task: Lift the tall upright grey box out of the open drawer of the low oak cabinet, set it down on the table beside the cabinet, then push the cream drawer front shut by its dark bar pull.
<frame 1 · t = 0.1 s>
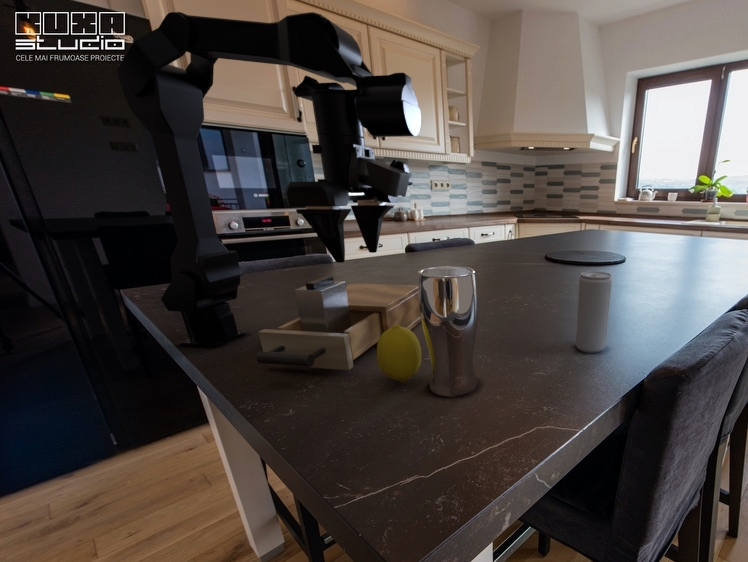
hand: (357, 257, 58), 15 cm above the table, tool pointing down, fingers open, 9 cm apart
tall upright grey box: (331, 343, 60), point 2 cm above the table, touching drawer
beer glass: (453, 387, 51), on the table
lemon: (402, 383, 52), on the table
cabinet: (372, 329, 72), on the table
beverage can: (590, 349, 64), on the table
drawer: (323, 339, 58), point 3 cm above the table, slide at 10.0 cm, touching tall upright grey box
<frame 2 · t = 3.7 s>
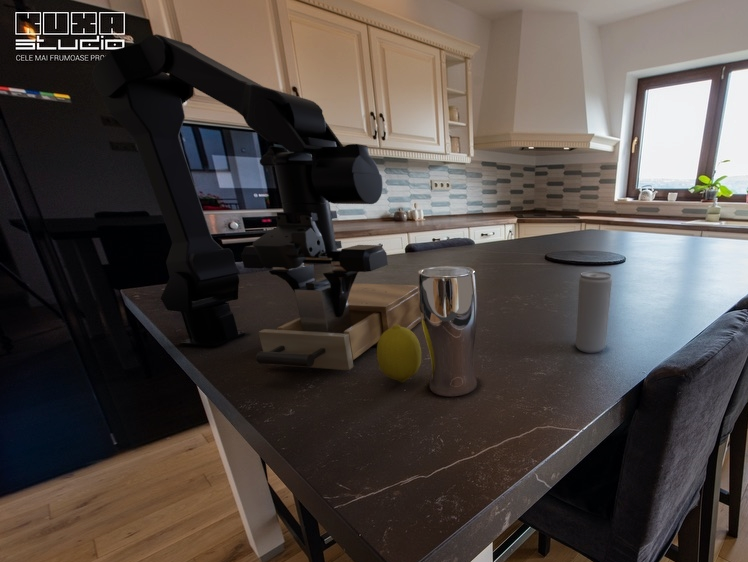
hand: (325, 315, 58), 7 cm above the table, tool pointing down, fingers closed on tall upright grey box, 4 cm apart
tall upright grey box: (331, 343, 60), point 2 cm above the table, touching drawer, gripper
everything else where it was.
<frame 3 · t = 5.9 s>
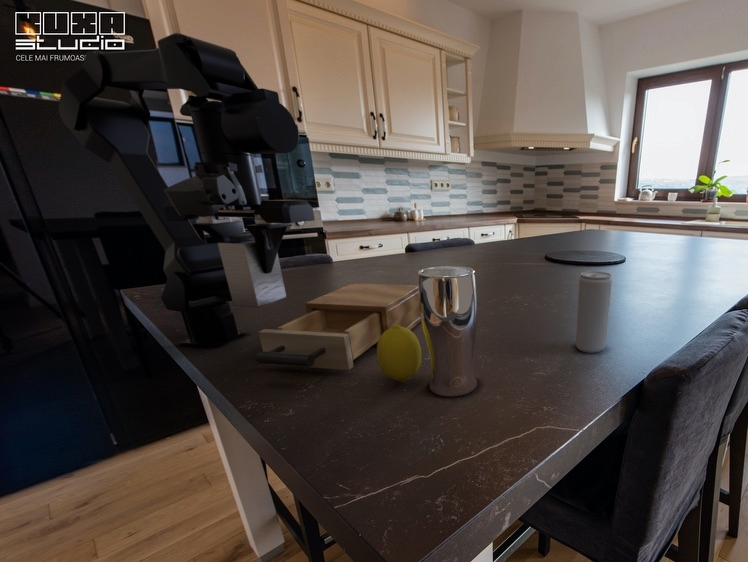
hand: (254, 272, 58), 13 cm above the table, tool pointing down, fingers closed on tall upright grey box, 4 cm apart
tall upright grey box: (261, 301, 59), point 8 cm above the table, touching gripper
drawer: (323, 339, 58), point 3 cm above the table, slide at 10.0 cm
everything else where it was.
when the fingers open (4 cm above the table, at t = 8.3 s): tall upright grey box stays where it is, on the table.
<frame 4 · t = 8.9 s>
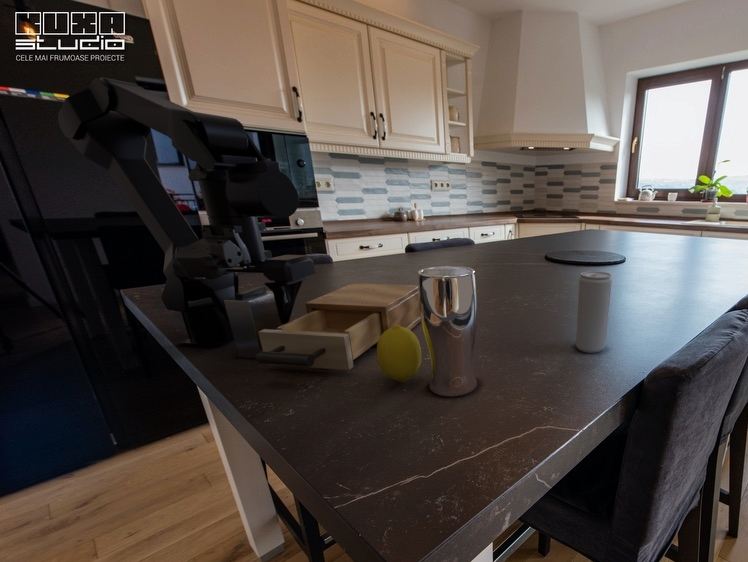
hand: (258, 322, 61), 5 cm above the table, tool pointing down, fingers open, 9 cm apart
tall upright grey box: (264, 350, 63), on the table
everything else where it was.
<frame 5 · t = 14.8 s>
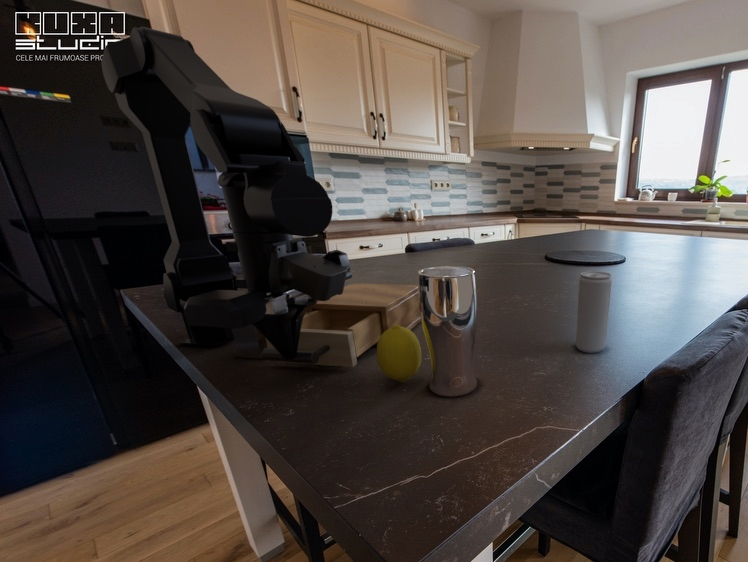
hand: (290, 358, 50), 4 cm above the table, tool pointing down, fingers closed
drawer: (327, 336, 59), point 3 cm above the table, slide at 9.0 cm, touching gripper
everything else where it was.
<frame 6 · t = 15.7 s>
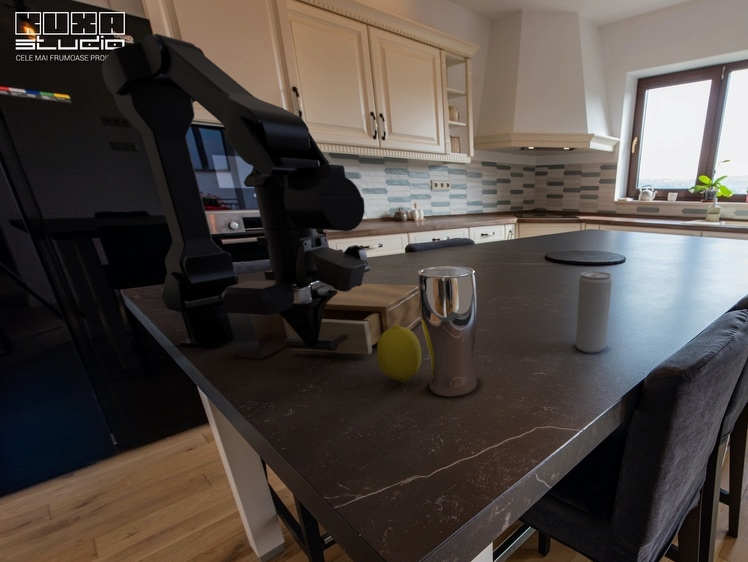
hand: (312, 345, 54), 4 cm above the table, tool pointing down, fingers closed
drawer: (344, 327, 63), point 3 cm above the table, slide at 4.6 cm, touching gripper
everything else where it was.
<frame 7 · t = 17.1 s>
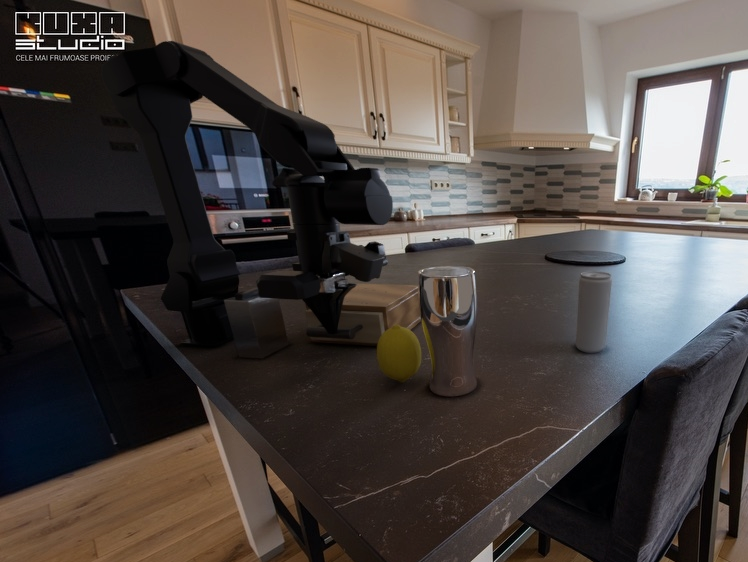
hand: (332, 333, 58), 4 cm above the table, tool pointing down, fingers closed, pressing on drawer
drawer: (358, 318, 67), point 3 cm above the table, slide at 0.0 cm, touching cabinet, gripper
everything else where it was.
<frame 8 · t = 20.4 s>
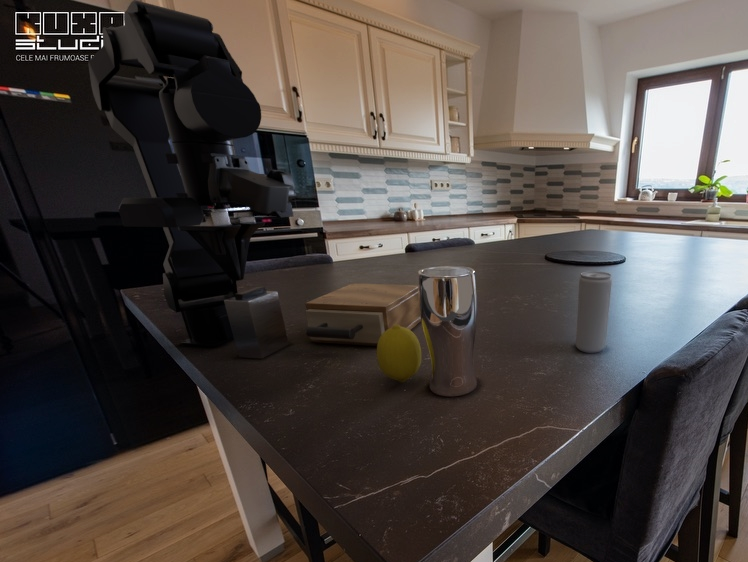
hand: (237, 280, 51), 13 cm above the table, tool pointing down, fingers closed
drawer: (358, 318, 67), point 3 cm above the table, slide at 0.0 cm
everything else where it was.
at the end: tall upright grey box 0.3 cm from the target spot, on the table; tall upright grey box tilted 0°; drawer slide at 0.0 cm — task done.
